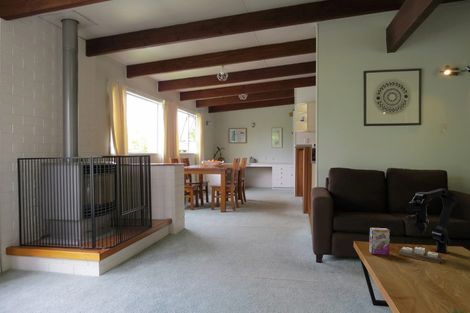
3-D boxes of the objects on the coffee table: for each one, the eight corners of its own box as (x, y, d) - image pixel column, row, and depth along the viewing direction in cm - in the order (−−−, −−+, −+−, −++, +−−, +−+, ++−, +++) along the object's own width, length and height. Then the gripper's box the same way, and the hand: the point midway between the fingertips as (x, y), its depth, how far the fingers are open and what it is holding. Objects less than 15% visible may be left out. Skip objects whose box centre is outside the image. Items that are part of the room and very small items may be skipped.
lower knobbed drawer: (428, 256, 190) (428, 251, 190) (438, 258, 187) (438, 252, 187) (427, 258, 187) (427, 253, 186) (437, 260, 183) (437, 254, 183)
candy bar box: (371, 254, 195) (372, 229, 195) (369, 252, 200) (369, 227, 200) (389, 255, 194) (390, 230, 193) (386, 252, 199) (387, 228, 198)
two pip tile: (415, 251, 195) (416, 246, 195) (425, 253, 192) (425, 248, 192) (414, 253, 191) (414, 248, 191) (423, 254, 188) (423, 249, 188)
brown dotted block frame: (402, 251, 202) (402, 247, 202) (441, 259, 188) (441, 255, 188) (398, 255, 195) (398, 251, 195) (439, 263, 180) (439, 259, 180)
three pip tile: (403, 251, 199) (403, 246, 199) (412, 252, 196) (412, 248, 196) (402, 253, 196) (402, 248, 196) (410, 254, 192) (410, 249, 192)
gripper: (410, 208, 209) (409, 230, 210) (404, 212, 195) (404, 236, 195) (429, 210, 202) (428, 233, 203) (425, 214, 188) (424, 239, 188)
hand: (421, 235), depth 197 cm, fingers closed
